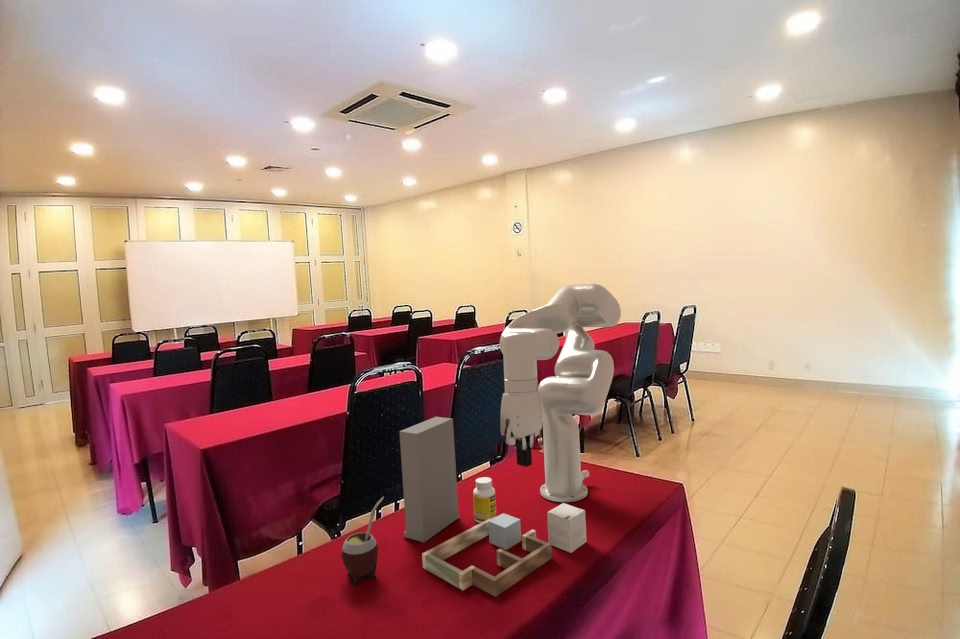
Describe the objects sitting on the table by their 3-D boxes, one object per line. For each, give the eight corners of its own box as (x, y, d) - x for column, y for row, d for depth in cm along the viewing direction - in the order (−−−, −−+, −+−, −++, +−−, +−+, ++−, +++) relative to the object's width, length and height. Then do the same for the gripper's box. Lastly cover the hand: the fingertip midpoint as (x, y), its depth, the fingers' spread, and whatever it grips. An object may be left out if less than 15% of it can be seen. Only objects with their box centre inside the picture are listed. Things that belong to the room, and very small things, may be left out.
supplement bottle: (494, 524, 121) (492, 484, 120) (472, 524, 122) (470, 484, 121) (498, 514, 126) (496, 476, 125) (476, 513, 127) (474, 475, 126)
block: (504, 534, 116) (503, 513, 116) (521, 541, 113) (520, 519, 112) (489, 542, 113) (488, 521, 112) (506, 550, 109) (505, 527, 109)
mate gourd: (336, 585, 99) (331, 510, 98) (357, 563, 107) (351, 494, 106) (371, 589, 97) (366, 513, 96) (389, 567, 105) (384, 496, 104)
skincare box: (564, 533, 115) (562, 502, 114) (587, 542, 110) (585, 509, 110) (547, 544, 110) (546, 511, 110) (571, 553, 106) (569, 519, 106)
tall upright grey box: (439, 513, 129) (433, 416, 127) (459, 518, 125) (453, 418, 124) (403, 537, 117) (396, 431, 115) (424, 543, 114) (416, 434, 112)
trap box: (496, 527, 119) (495, 515, 119) (559, 553, 107) (558, 539, 106) (422, 567, 104) (422, 553, 104) (486, 603, 91) (485, 587, 91)
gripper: (529, 379, 124) (532, 453, 125) (486, 389, 113) (490, 470, 114) (554, 382, 118) (557, 459, 120) (511, 393, 108) (515, 478, 109)
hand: (524, 464), depth 117 cm, fingers closed
